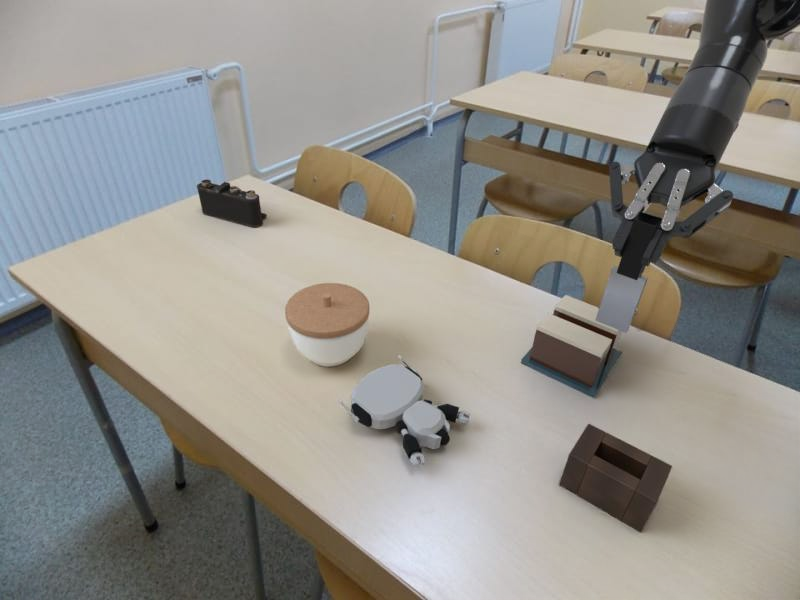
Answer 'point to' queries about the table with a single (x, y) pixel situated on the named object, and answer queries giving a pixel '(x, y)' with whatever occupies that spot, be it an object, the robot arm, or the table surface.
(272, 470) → the table surface
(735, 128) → the robot arm
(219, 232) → the table surface
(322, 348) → the lidded bowl
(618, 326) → the dark grey tall bar
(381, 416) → the robot toy
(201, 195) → the camera
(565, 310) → the slotted fixture
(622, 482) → the brown rectangular frame
